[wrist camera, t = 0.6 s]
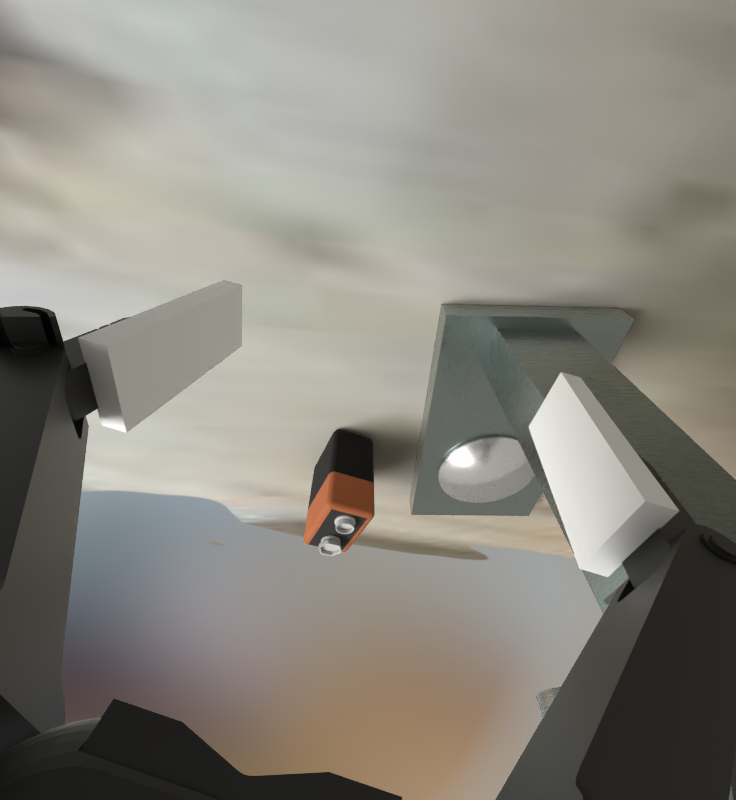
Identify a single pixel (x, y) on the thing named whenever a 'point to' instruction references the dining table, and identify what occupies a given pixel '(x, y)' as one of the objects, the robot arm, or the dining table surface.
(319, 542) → the battery
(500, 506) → the arbor press
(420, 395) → the dining table surface
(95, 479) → the dining table surface
